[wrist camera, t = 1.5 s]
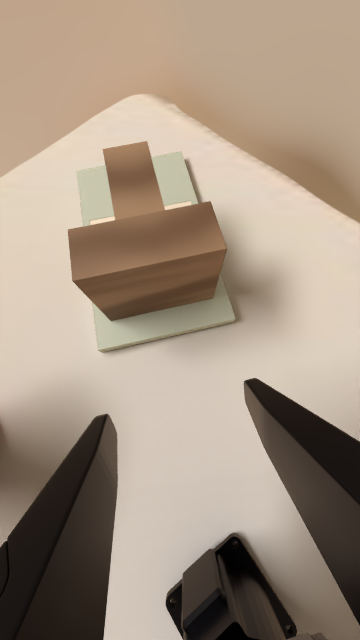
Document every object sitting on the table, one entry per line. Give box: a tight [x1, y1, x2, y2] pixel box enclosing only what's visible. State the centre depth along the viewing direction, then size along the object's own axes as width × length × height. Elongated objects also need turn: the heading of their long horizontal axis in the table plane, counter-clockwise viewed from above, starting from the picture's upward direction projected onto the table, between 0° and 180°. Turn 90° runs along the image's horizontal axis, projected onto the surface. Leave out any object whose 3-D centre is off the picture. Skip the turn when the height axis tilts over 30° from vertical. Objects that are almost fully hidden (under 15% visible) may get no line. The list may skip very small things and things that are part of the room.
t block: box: [68, 141, 227, 321], centre depth 21 cm, size 11×10×8 cm
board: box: [77, 152, 236, 352], centre depth 26 cm, size 22×13×1 cm, turn 13°
